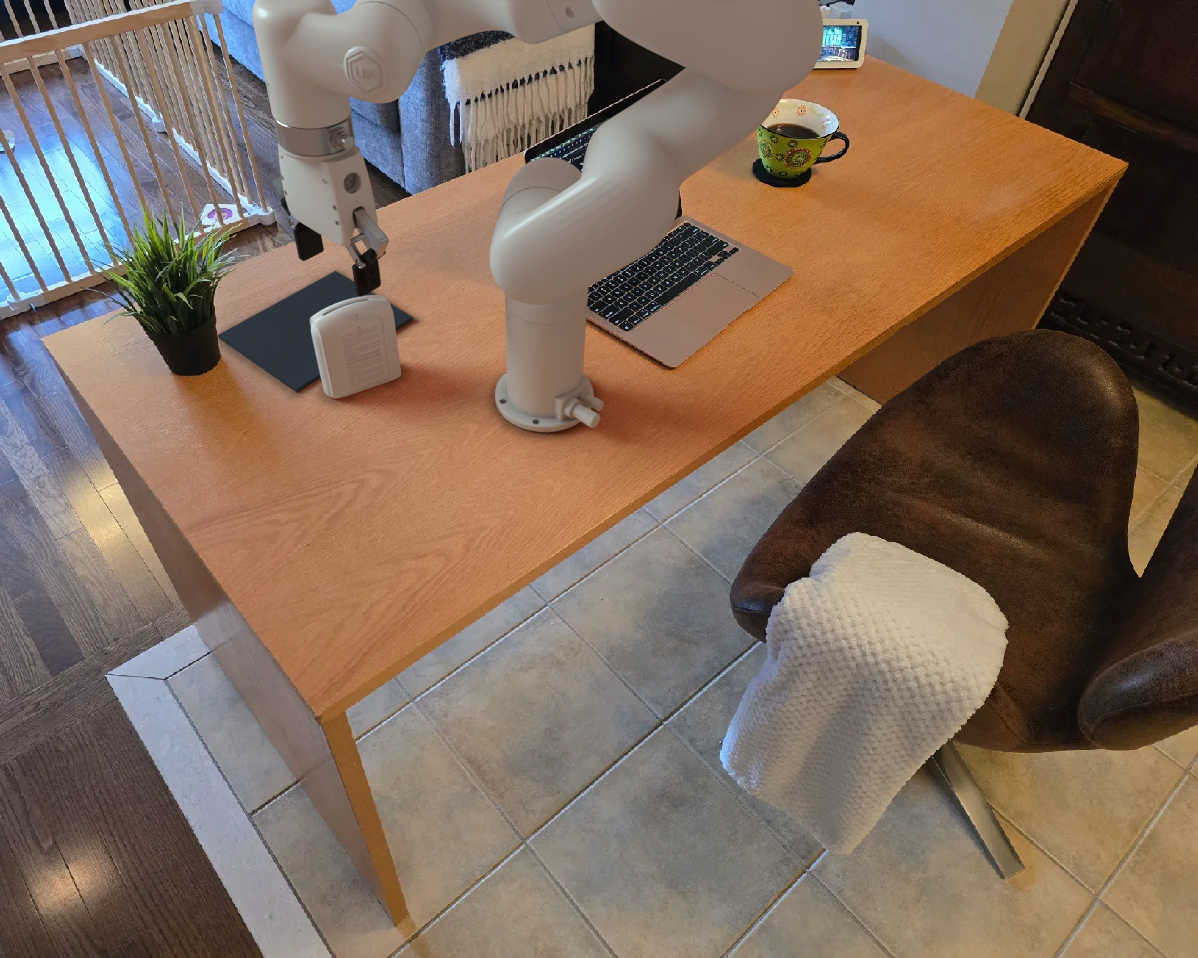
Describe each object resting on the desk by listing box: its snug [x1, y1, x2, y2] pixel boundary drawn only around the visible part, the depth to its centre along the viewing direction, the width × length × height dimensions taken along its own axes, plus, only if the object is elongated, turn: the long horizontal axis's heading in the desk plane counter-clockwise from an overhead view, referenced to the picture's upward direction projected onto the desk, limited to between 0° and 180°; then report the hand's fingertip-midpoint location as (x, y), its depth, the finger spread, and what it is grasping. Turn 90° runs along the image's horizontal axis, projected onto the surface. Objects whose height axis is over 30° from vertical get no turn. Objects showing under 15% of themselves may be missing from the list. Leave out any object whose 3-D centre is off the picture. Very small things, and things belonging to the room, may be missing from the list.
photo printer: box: [310, 294, 402, 399], centre depth 108 cm, size 10×4×12 cm, turn 123°
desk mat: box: [217, 270, 414, 393], centre depth 119 cm, size 16×20×1 cm
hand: (339, 272), depth 100 cm, fingers open, 9 cm apart
